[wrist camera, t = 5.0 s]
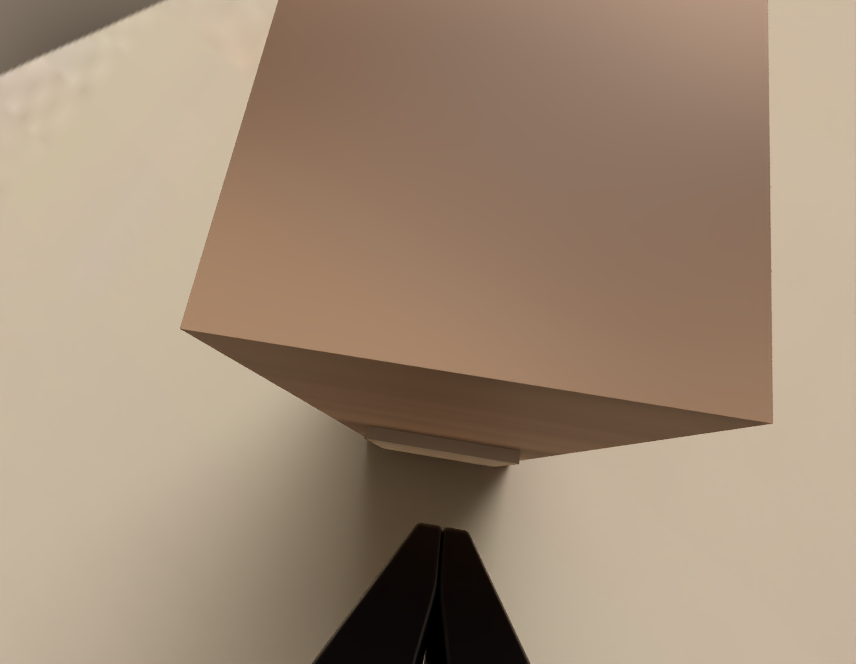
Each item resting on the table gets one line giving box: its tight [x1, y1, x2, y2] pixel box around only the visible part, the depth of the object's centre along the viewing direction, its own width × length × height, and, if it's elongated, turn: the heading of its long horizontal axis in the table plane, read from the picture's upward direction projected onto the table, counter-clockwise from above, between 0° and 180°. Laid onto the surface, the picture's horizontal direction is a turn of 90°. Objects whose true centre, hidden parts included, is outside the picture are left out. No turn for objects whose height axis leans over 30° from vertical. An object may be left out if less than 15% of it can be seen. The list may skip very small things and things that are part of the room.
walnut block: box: [180, 0, 773, 467], centre depth 12 cm, size 5×5×14 cm
